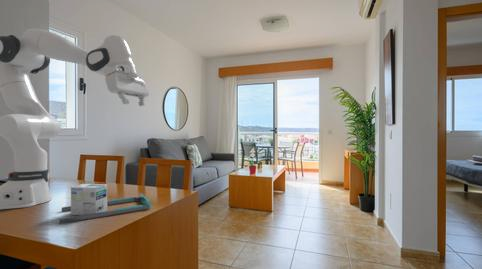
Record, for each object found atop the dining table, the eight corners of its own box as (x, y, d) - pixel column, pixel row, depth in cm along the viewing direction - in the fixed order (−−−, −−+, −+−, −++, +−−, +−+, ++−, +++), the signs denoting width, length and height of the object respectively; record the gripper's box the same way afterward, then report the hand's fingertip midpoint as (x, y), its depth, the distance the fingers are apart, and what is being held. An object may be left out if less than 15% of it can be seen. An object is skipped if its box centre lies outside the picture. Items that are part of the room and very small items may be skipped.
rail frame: (59, 223, 82) (59, 215, 82) (61, 211, 95) (61, 203, 95) (150, 208, 99) (150, 201, 99) (142, 199, 112) (142, 193, 112)
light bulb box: (107, 210, 96) (108, 183, 96) (96, 216, 90) (96, 187, 89) (83, 209, 97) (83, 183, 97) (69, 215, 91) (69, 186, 91)
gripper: (136, 80, 111) (144, 109, 111) (99, 71, 92) (109, 105, 91) (147, 75, 110) (156, 104, 109) (112, 65, 90) (122, 99, 89)
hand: (134, 104), depth 100 cm, fingers open, 8 cm apart
